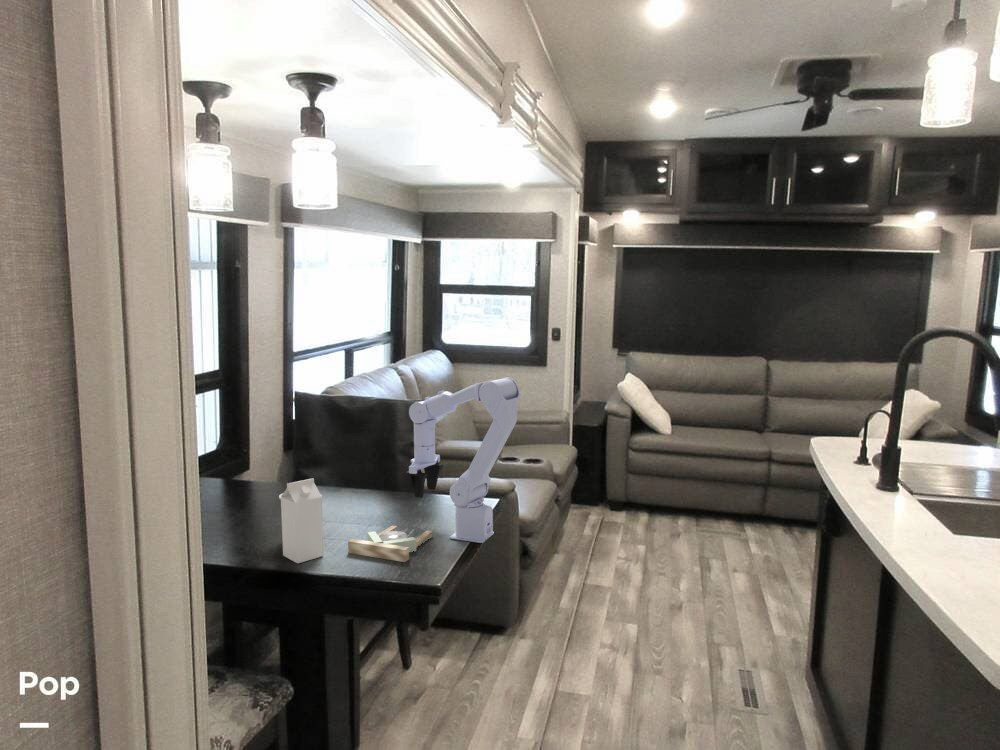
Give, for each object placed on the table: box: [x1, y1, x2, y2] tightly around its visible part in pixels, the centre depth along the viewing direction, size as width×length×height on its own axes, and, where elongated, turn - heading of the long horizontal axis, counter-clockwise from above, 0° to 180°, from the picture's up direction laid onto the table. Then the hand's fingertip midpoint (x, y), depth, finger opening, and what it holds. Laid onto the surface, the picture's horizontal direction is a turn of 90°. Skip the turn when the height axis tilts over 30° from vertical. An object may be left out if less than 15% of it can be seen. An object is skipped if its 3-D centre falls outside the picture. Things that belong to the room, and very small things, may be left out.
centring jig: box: [347, 525, 433, 563], centre depth 181 cm, size 16×18×3 cm
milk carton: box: [280, 477, 324, 564], centre depth 172 cm, size 7×7×19 cm
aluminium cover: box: [379, 530, 408, 541], centre depth 180 cm, size 7×7×3 cm
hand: (425, 493), depth 194 cm, fingers open, 7 cm apart
